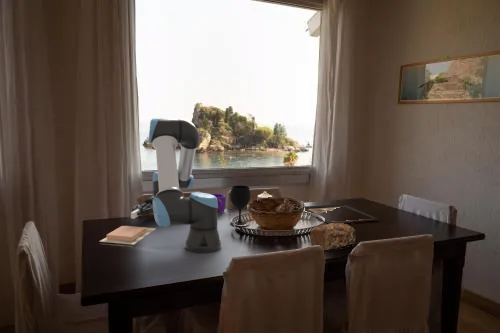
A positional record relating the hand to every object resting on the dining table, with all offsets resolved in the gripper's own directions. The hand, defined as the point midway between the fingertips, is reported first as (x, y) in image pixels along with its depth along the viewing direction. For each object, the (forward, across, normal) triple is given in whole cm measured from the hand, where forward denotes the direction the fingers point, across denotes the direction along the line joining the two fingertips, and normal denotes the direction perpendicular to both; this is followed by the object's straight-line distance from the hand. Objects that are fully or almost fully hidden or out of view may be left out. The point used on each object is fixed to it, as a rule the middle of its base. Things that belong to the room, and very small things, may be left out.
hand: (132, 215), depth 178 cm
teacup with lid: (-62, -54, -9) cm, 83 cm away
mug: (-48, -29, -10) cm, 57 cm away
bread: (-6, -92, -10) cm, 93 cm away
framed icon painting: (-62, -98, -10) cm, 117 cm away
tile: (-1, 0, -7) cm, 7 cm away
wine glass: (-29, -46, -9) cm, 55 cm away
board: (+3, 0, -9) cm, 10 cm away
